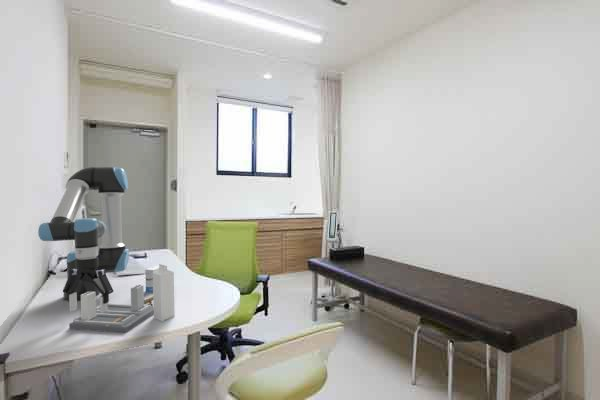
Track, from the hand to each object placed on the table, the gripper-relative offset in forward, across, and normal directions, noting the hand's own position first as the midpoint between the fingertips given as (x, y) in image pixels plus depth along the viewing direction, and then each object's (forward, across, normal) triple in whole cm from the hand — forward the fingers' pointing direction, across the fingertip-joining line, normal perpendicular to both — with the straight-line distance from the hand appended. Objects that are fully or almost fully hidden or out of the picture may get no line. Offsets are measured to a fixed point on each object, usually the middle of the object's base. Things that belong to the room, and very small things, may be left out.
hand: (88, 310), depth 123 cm
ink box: (+5, +1, +42) cm, 42 cm away
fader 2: (+3, +14, +10) cm, 18 cm away
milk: (+6, +26, +10) cm, 28 cm away
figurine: (+6, +10, +21) cm, 24 cm away
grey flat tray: (+5, +8, +5) cm, 11 cm away
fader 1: (+3, 0, 0) cm, 3 cm away
